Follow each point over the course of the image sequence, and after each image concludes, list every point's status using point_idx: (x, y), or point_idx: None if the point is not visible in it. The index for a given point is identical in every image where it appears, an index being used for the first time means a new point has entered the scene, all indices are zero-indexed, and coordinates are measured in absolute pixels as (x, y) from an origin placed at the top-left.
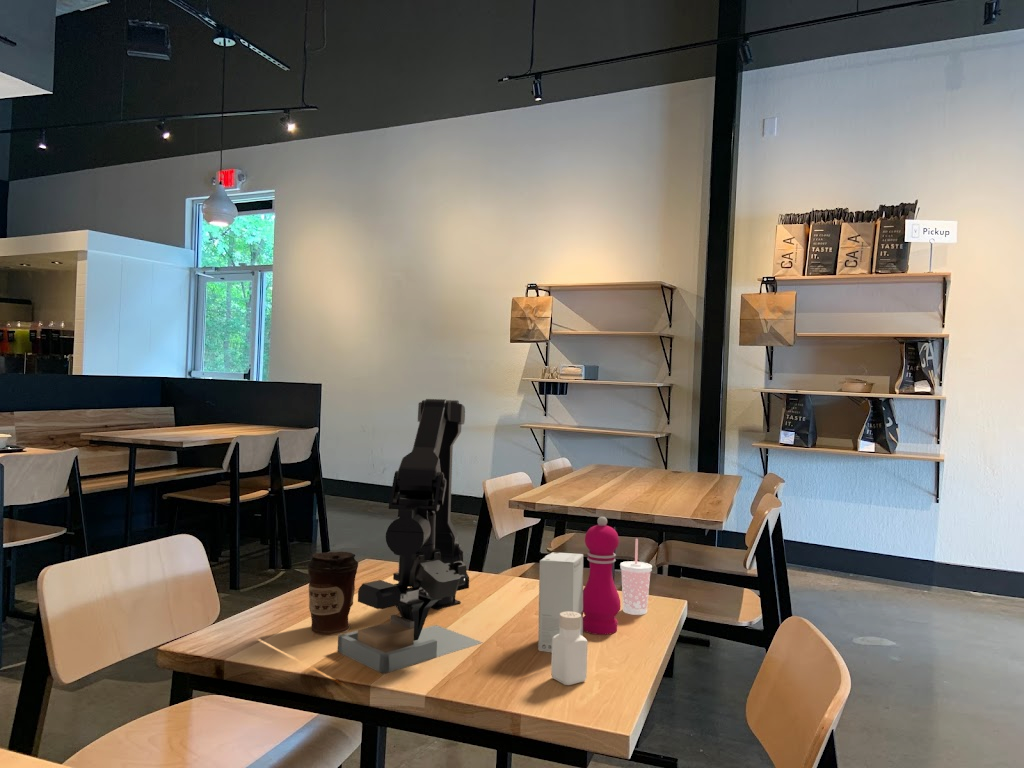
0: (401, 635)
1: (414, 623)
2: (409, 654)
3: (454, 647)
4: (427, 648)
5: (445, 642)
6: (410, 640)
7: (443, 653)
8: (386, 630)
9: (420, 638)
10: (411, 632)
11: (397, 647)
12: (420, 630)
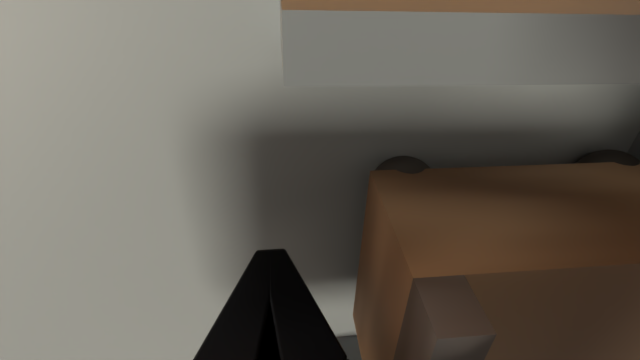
0: (543, 241)
1: (328, 349)
2: (614, 6)
3: (19, 61)
4: (406, 4)
5: (48, 180)
6: (417, 204)
7: (178, 14)
8: (590, 335)
9: (168, 295)
10: (433, 249)
11: (525, 184)
12: (245, 292)
